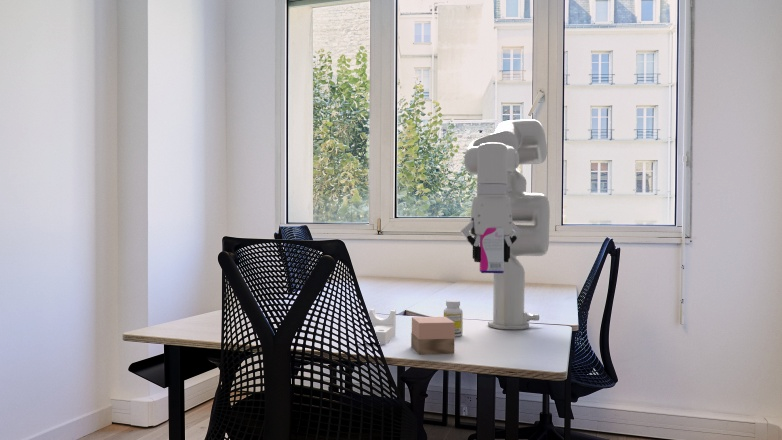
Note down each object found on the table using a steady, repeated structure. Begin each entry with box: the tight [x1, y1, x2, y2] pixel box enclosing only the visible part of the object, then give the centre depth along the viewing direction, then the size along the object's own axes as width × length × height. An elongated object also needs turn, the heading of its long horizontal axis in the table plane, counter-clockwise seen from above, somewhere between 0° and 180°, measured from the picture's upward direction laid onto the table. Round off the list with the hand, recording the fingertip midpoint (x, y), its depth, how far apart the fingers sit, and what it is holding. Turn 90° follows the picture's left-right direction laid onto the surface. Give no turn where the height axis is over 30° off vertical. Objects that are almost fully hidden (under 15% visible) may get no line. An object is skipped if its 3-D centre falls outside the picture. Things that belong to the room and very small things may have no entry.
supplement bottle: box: [443, 299, 464, 337], centre depth 174 cm, size 5×5×10 cm
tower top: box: [411, 316, 456, 339], centre depth 154 cm, size 9×9×4 cm
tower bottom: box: [410, 332, 456, 356], centre depth 154 cm, size 9×9×4 cm
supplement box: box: [479, 228, 504, 274], centre depth 155 cm, size 6×6×12 cm
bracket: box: [368, 308, 397, 345], centre depth 167 cm, size 13×7×8 cm, turn 168°
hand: (491, 261), depth 155 cm, fingers closed on supplement box, 6 cm apart
